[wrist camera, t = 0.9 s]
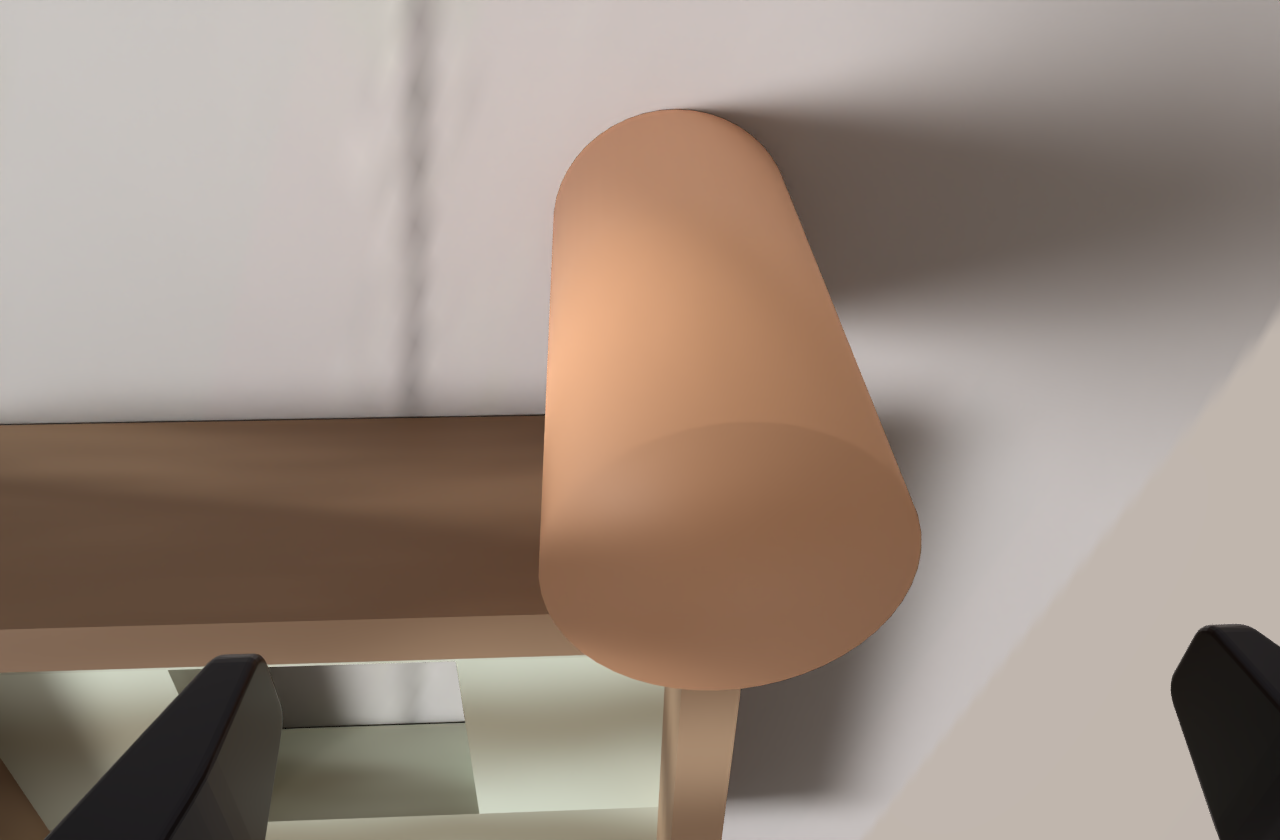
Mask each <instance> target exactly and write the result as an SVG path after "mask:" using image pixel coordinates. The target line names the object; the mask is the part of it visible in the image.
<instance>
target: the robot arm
mask: <svg viewBox="0 0 1280 840" xmlns="http://www.w3.org/2000/svg"><path fill="white" fill-rule="evenodd" d="M1171 696H1172V701H1173V704H1174V708H1175V710H1176V713H1177V716H1178V719H1179V722H1180V725H1181V728H1182V731H1183V734H1184V737H1185V740H1186V743H1187V746H1188V749H1189V752H1190V755H1191V758H1192V761H1193V764H1194V766H1195V770H1196V773H1197V776H1198V778H1199V782H1200V784H1201V788H1202V790H1203V793H1204V796H1205V799H1206V802H1207V805H1208V808H1209V811H1210V814H1211V817H1212V820H1213V823H1214V826H1215V829H1216V831H1217V834H1218V836H1219V839H1220V840H1280V646H1278V645H1277V644H1275V643H1274V642H1272V641H1271V640H1270V639H1268V638H1267V637H1265V636H1264V635H1263V634H1261V633H1260V632H1258V631H1257V630H1255V629H1253V628H1251V627H1249V626H1246V625H1241V624H1224V625H1208V626H1204V627H1203V628H1201V629H1200V630H1198V632H1197V633H1196V634H1195V636H1194V638H1193V640H1192V641H1191V643H1190V645H1189V647H1188V649H1187V651H1186V652H1185V654H1184V656H1183V658H1182V659H1181V662H1180V663H1179V665H1178V667H1177V668H1176V670H1175V672H1174V674H1173V676H1172V681H1171ZM282 722H283V719H282V708H281V704H280V701H279V698H278V695H277V692H276V689H275V686H274V683H273V681H272V678H271V675H270V672H269V669H268V666H267V663H266V661H265V659H264V658H263V657H262V656H261V655H259V654H224V655H219V656H217V657H215V658H213V659H212V660H211V661H210V662H208V663H207V664H206V666H205V667H204V668H203V669H202V670H201V671H200V672H199V673H198V674H197V675H196V676H195V677H194V678H193V679H192V681H191V682H190V683H189V684H188V685H187V686H186V687H185V688H184V689H183V690H182V691H181V692H180V693H179V695H178V696H177V697H176V698H175V699H174V700H173V701H172V702H171V703H170V704H169V705H168V706H167V707H166V708H165V710H164V711H163V712H162V713H161V714H160V715H159V716H158V717H157V718H156V719H155V720H154V721H153V722H152V724H151V725H150V726H149V727H148V728H147V729H146V730H145V731H144V732H143V733H142V734H141V735H140V736H139V737H138V739H137V740H136V741H135V742H134V743H133V744H132V745H131V746H130V747H129V748H128V749H127V750H126V751H125V753H124V754H123V755H122V756H121V757H120V758H119V759H118V760H117V761H116V762H115V763H114V764H113V765H112V766H111V768H110V769H109V770H108V771H107V772H106V773H105V774H104V775H103V776H102V777H101V778H100V779H99V780H98V782H97V783H96V784H95V785H94V786H93V787H92V788H91V789H90V790H89V791H88V792H87V793H86V794H85V795H84V797H83V798H82V799H81V800H80V801H79V802H78V803H77V804H76V805H75V806H74V807H73V808H72V809H71V811H70V812H69V813H68V814H67V815H66V816H65V817H64V818H63V819H62V820H61V821H60V822H59V823H58V824H57V826H56V827H55V828H54V829H53V830H52V831H51V832H50V833H49V834H48V835H47V836H46V837H45V838H44V840H265V838H266V831H267V825H268V818H269V812H270V805H271V799H272V792H273V786H274V779H275V773H276V766H277V760H278V753H279V747H280V740H281V734H282Z"/></svg>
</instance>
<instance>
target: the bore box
mask: <svg viewBox="0 0 1280 840" xmlns="http://www.w3.org/2000/svg"><path fill="white" fill-rule="evenodd" d="M544 433H545V416H496V417H440V418H383V419H327V420H270V421H214V422H157V423H100V424H44V425H0V840H44V838H45V837H46V836H47V835H48V834H49V833H50V832H51V831H52V830H53V829H54V828H55V827H56V826H57V824H58V823H59V822H60V821H61V820H62V819H63V818H64V817H65V816H66V815H67V814H68V813H69V812H70V811H71V809H72V808H73V807H74V806H75V805H76V804H77V803H78V802H79V801H80V800H81V799H82V798H83V797H84V795H85V794H86V793H87V792H88V791H89V790H90V789H91V788H92V787H93V786H94V785H95V784H96V783H97V782H98V780H99V779H100V778H101V777H102V776H103V775H104V774H105V773H106V772H107V771H108V770H109V769H110V768H111V766H112V765H113V764H114V763H115V762H116V761H117V760H118V759H119V758H120V757H121V756H122V755H123V754H124V753H125V751H126V750H127V749H128V748H129V747H130V746H131V745H132V744H133V743H134V742H135V741H136V740H137V739H138V737H139V736H140V735H141V734H142V733H143V732H144V731H145V730H146V729H147V728H148V727H149V726H150V725H151V724H152V722H153V721H154V720H155V719H156V718H157V717H158V716H159V715H160V714H161V713H162V712H163V711H164V710H165V708H166V707H167V706H168V705H169V704H170V703H171V702H172V701H173V700H174V699H175V698H176V697H177V696H178V695H179V693H180V692H181V691H182V690H183V689H184V688H185V687H186V686H187V685H188V684H189V683H190V682H191V681H192V679H193V678H194V677H195V676H196V675H197V674H198V673H199V672H200V671H201V670H202V669H203V668H204V667H205V666H206V664H207V663H208V662H210V661H211V660H212V659H213V658H215V657H217V656H219V655H224V654H259V655H261V656H262V657H263V658H264V659H265V661H266V663H267V666H268V667H284V666H317V665H350V664H383V663H416V662H449V661H456V667H457V673H458V679H459V686H460V692H461V699H462V705H463V711H464V718H465V723H447V724H417V725H387V726H357V727H327V728H297V729H282V734H281V740H280V747H279V753H278V760H277V766H276V773H275V779H274V786H273V792H272V799H271V805H270V812H269V818H268V825H267V831H266V838H265V840H721V839H722V831H723V823H724V816H725V808H726V800H727V793H728V785H729V777H730V769H731V762H732V754H733V746H734V739H735V731H736V723H737V715H738V708H739V700H740V692H741V689H731V690H718V691H717V690H687V689H676V688H669V687H664V686H658V685H653V684H649V683H646V682H642V681H639V680H635V679H632V678H629V677H627V676H624V675H622V674H619V673H616V672H614V671H612V670H610V669H608V668H606V667H604V666H602V665H601V664H599V663H597V662H595V661H594V660H592V659H591V658H589V657H588V656H586V655H585V654H584V653H582V652H581V651H580V650H579V649H577V648H576V647H575V646H574V645H573V644H572V643H571V642H570V641H569V640H567V638H566V637H565V636H564V635H563V633H562V632H561V631H560V630H559V629H558V627H557V626H556V625H555V623H554V621H553V620H552V618H551V616H550V614H549V613H548V611H547V608H546V606H545V603H544V600H543V597H542V595H541V589H540V583H539V550H540V527H541V503H542V480H543V456H544Z"/></svg>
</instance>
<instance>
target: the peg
mask: <svg viewBox="0 0 1280 840" xmlns="http://www.w3.org/2000/svg"><path fill="white" fill-rule="evenodd" d="M920 553H921V529H920V524H919V519H918V514H917V512H916V509H915V507H914V504H913V502H912V500H911V497H910V495H909V492H908V490H907V487H906V485H905V482H904V480H903V477H902V475H901V472H900V470H899V467H898V465H897V462H896V460H895V457H894V455H893V452H892V450H891V447H890V445H889V442H888V440H887V437H886V435H885V432H884V430H883V427H882V425H881V422H880V420H879V417H878V415H877V412H876V410H875V407H874V405H873V402H872V400H871V397H870V395H869V392H868V390H867V387H866V385H865V382H864V380H863V377H862V375H861V372H860V370H859V368H858V365H857V363H856V360H855V358H854V355H853V353H852V350H851V348H850V345H849V343H848V340H847V338H846V335H845V333H844V330H843V328H842V325H841V323H840V320H839V318H838V315H837V313H836V310H835V308H834V305H833V303H832V300H831V298H830V295H829V293H828V290H827V288H826V285H825V283H824V280H823V278H822V275H821V273H820V270H819V268H818V265H817V263H816V260H815V258H814V255H813V253H812V250H811V248H810V245H809V243H808V240H807V238H806V236H805V233H804V231H803V228H802V226H801V223H800V221H799V218H798V216H797V213H796V211H795V208H794V206H793V203H792V201H791V198H790V196H789V193H788V191H787V188H786V186H785V183H784V181H783V178H782V176H781V173H780V171H779V169H778V167H777V165H776V164H775V162H774V160H773V158H772V157H771V155H770V154H769V153H768V152H767V151H766V149H765V148H764V147H763V146H762V144H760V143H759V142H758V141H757V140H756V139H755V138H754V137H753V136H752V135H751V134H749V133H748V132H746V131H745V130H743V129H742V128H741V127H739V126H737V125H735V124H733V123H731V122H729V121H727V120H725V119H723V118H720V117H717V116H714V115H712V114H708V113H703V112H698V111H693V110H679V109H674V110H659V111H654V112H649V113H644V114H641V115H638V116H635V117H632V118H629V119H626V120H624V121H622V122H620V123H618V124H616V125H614V126H612V127H611V128H609V129H608V130H606V131H604V132H603V133H601V134H600V135H599V136H597V137H596V138H595V139H594V140H593V141H592V142H590V143H589V144H588V145H587V146H586V147H585V148H584V149H583V150H582V152H581V153H580V154H579V155H578V156H577V157H576V159H575V160H574V162H573V163H572V164H571V166H570V167H569V169H568V171H567V173H566V175H565V177H564V179H563V181H562V183H561V185H560V188H559V191H558V194H557V198H556V203H555V209H554V221H553V245H552V268H551V292H550V315H549V339H548V362H547V386H546V409H545V433H544V456H543V480H542V503H541V527H540V550H539V583H540V589H541V595H542V597H543V600H544V603H545V606H546V608H547V611H548V613H549V614H550V616H551V618H552V620H553V621H554V623H555V625H556V626H557V627H558V629H559V630H560V631H561V632H562V633H563V635H564V636H565V637H566V638H567V640H569V641H570V642H571V643H572V644H573V645H574V646H575V647H576V648H577V649H579V650H580V651H581V652H582V653H584V654H585V655H586V656H588V657H589V658H591V659H592V660H594V661H595V662H597V663H599V664H601V665H602V666H604V667H606V668H608V669H610V670H612V671H614V672H616V673H619V674H622V675H624V676H627V677H629V678H632V679H635V680H639V681H642V682H646V683H649V684H653V685H658V686H664V687H669V688H676V689H687V690H717V691H718V690H731V689H742V688H749V687H755V686H762V685H766V684H770V683H774V682H779V681H783V680H786V679H789V678H792V677H795V676H798V675H801V674H805V673H807V672H809V671H812V670H814V669H816V668H819V667H821V666H824V665H826V664H828V663H829V662H831V661H833V660H835V659H837V658H839V657H841V656H843V655H844V654H846V653H847V652H849V651H850V650H852V649H853V648H855V647H856V646H858V645H859V644H861V643H862V642H864V641H865V640H866V639H867V638H868V637H870V636H871V635H872V634H873V633H874V632H876V631H877V630H878V629H879V628H880V627H881V626H882V625H883V624H884V623H885V622H886V621H887V620H888V619H889V618H890V617H891V615H892V614H893V613H894V611H895V610H896V609H897V607H898V606H899V605H900V604H901V602H902V601H903V599H904V597H905V596H906V594H907V592H908V590H909V588H910V587H911V585H912V582H913V579H914V577H915V574H916V571H917V569H918V564H919V559H920Z"/></svg>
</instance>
